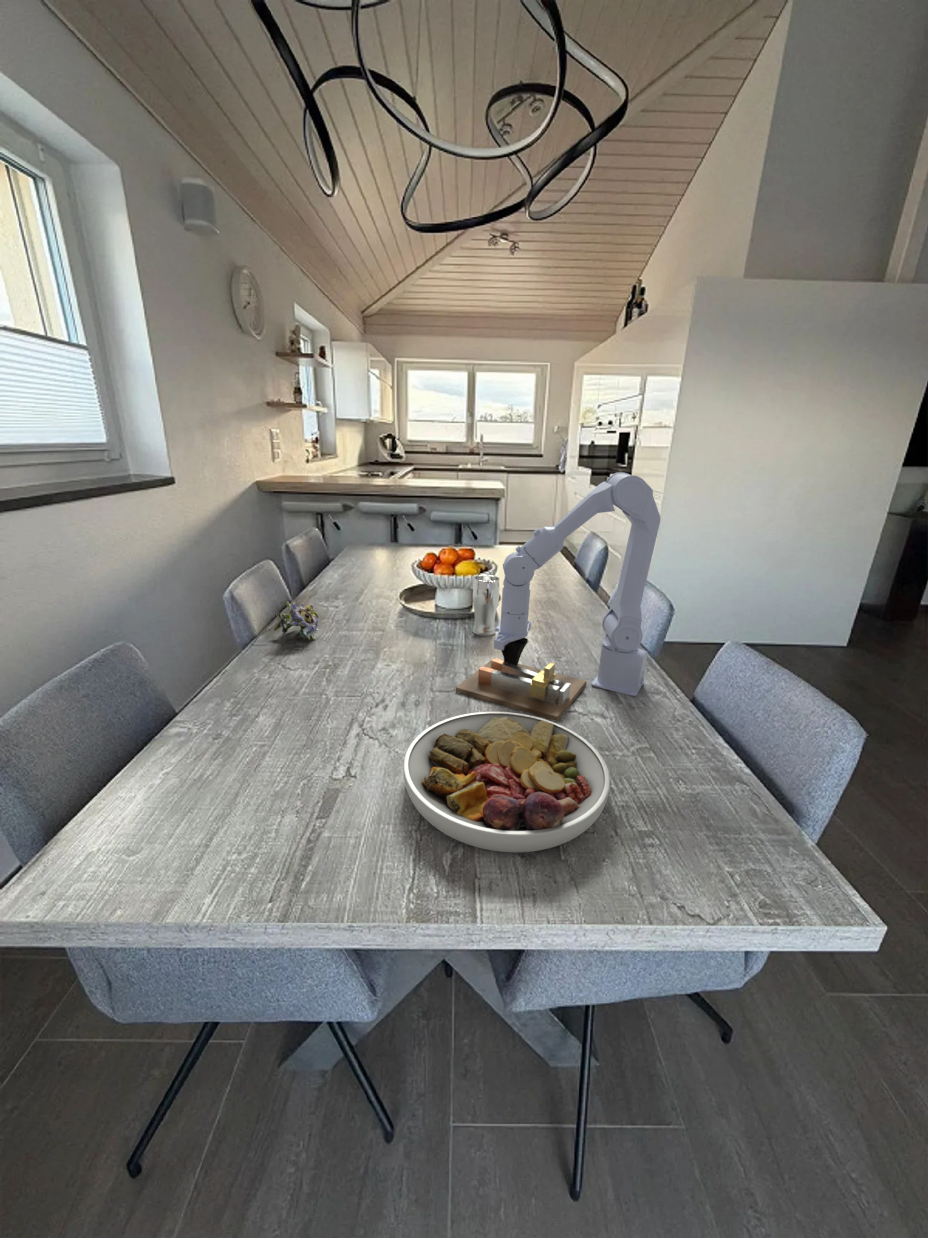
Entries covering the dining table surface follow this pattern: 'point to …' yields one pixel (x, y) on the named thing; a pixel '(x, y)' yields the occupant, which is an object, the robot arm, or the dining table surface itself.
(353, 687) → the dining table surface
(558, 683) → the hinged tong arm
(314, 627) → the passion flower
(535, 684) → the brass ring
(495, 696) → the walnut board
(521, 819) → the bowl
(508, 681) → the fixed tong arm
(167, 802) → the dining table surface
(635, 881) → the dining table surface
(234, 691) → the dining table surface
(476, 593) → the beer glass
